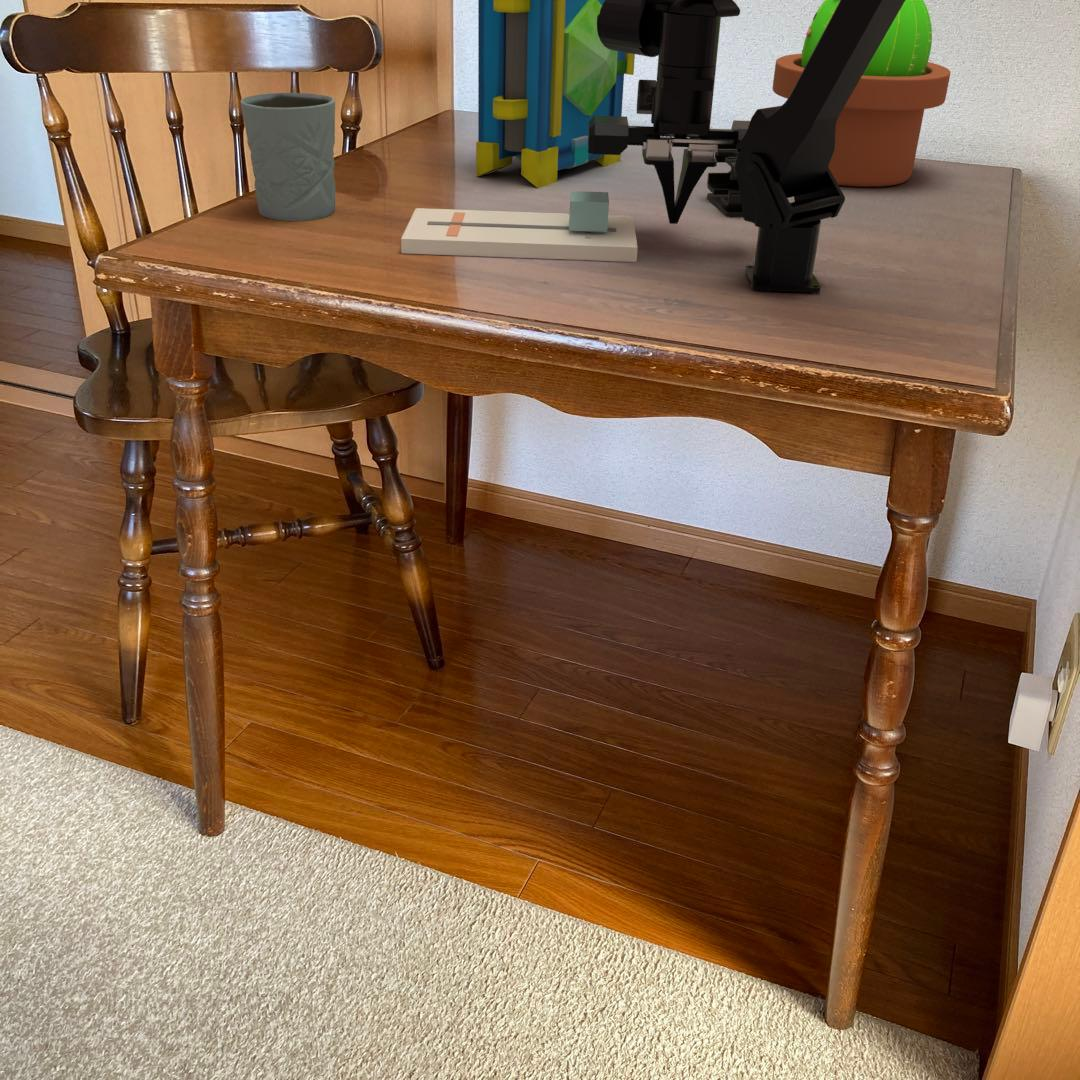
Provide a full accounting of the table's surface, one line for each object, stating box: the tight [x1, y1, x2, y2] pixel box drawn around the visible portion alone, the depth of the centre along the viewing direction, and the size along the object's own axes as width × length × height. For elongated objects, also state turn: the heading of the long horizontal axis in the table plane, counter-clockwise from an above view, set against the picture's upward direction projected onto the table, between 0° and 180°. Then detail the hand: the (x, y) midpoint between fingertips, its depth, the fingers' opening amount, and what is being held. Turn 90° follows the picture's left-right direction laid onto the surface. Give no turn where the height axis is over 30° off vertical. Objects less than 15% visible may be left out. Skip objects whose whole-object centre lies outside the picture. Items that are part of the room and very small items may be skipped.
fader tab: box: [569, 190, 610, 232], centre depth 119 cm, size 4×4×3 cm
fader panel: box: [400, 207, 639, 263], centre depth 120 cm, size 12×24×2 cm, turn 88°
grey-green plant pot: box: [240, 92, 336, 222], centre depth 125 cm, size 10×10×12 cm
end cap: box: [706, 148, 743, 218], centre depth 134 cm, size 10×7×7 cm
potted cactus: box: [771, 0, 951, 188], centre depth 146 cm, size 22×22×25 cm
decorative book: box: [475, 0, 636, 189], centre depth 142 cm, size 14×23×30 cm, turn 146°
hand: (673, 222), depth 119 cm, fingers closed
